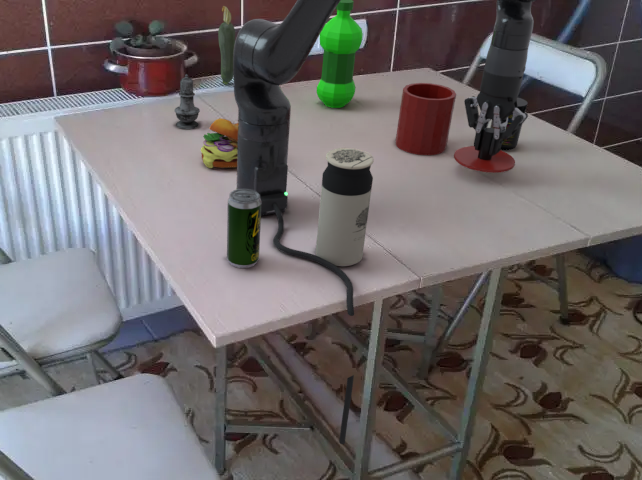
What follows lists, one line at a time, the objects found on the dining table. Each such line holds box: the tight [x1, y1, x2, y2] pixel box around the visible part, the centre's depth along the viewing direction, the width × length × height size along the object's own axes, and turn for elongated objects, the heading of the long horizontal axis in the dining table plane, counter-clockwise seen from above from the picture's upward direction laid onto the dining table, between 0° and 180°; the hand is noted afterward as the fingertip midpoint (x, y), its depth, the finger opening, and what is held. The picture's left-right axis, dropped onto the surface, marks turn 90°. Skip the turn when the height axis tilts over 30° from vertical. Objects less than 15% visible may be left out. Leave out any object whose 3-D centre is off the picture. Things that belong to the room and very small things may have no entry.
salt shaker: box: [174, 73, 201, 130], centre depth 171 cm, size 6×6×12 cm
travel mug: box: [315, 147, 375, 267], centre depth 122 cm, size 8×8×18 cm
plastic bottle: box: [316, 0, 364, 109], centre depth 182 cm, size 10×10×25 cm
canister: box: [395, 82, 457, 156], centre depth 165 cm, size 11×11×12 cm
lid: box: [453, 127, 516, 174], centre depth 154 cm, size 12×12×7 cm
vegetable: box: [217, 5, 236, 85], centre depth 193 cm, size 4×4×20 cm
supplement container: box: [489, 96, 528, 151], centre depth 167 cm, size 7×7×10 cm
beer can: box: [226, 188, 262, 269], centre depth 121 cm, size 5×5×12 cm
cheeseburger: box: [200, 117, 238, 169], centre depth 156 cm, size 10×11×10 cm
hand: (485, 151), depth 155 cm, fingers closed on lid, 3 cm apart
